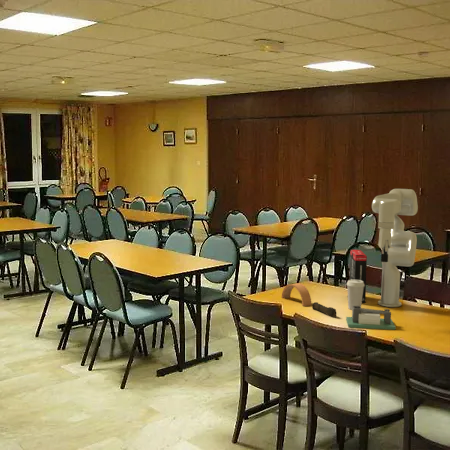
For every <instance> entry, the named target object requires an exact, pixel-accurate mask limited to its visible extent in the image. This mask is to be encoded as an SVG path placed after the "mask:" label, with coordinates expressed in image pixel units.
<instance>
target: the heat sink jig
mask: <svg viewBox="0 0 450 450" xmlns="http://www.w3.org/2000/svg"><path fill="white" fill-rule="evenodd" d="M358 308H360V306H358ZM358 308H357V306H352V310H351V316H346V317H345V318H346V319H345V321H346V323H347V328H352V329H354V328H355V329H372V330H375V329H376V330H389V331H391V330H394V331H396V328H397V327H396V325H395V323H394V321H393V319H392V312H391V310H390V309H386V308H385V309H383V311H388V312H386V314H383V318H381V313H372V312H363V311H361V309H358Z"/></svg>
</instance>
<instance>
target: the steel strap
mask: <svg viewBox="0 0 450 450" xmlns="http://www.w3.org/2000/svg"><path fill="white" fill-rule="evenodd" d="M357 308H358V305H357ZM358 309H361V311H363V312H372V313H379V314H380V315H384V314H386V312H388V311H384V309H383V310H381V309H372V308H364V307H361V308H358Z"/></svg>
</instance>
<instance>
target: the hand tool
mask: <svg viewBox="0 0 450 450" xmlns="http://www.w3.org/2000/svg"><path fill="white" fill-rule="evenodd" d="M311 307H312V310H316V311H318V312H320V313H323V314H326V315H327V316H328V317H330V318H337V310H336V308H334V307H328V306H325V305H323V304H320V303H319V302H313V303H311Z"/></svg>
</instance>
